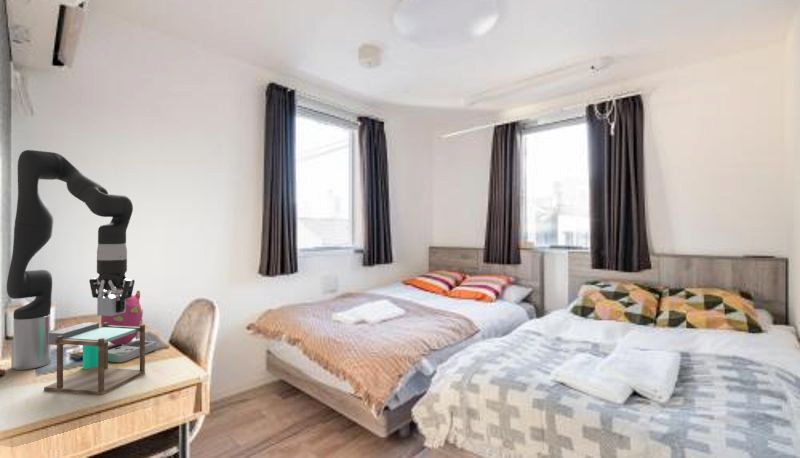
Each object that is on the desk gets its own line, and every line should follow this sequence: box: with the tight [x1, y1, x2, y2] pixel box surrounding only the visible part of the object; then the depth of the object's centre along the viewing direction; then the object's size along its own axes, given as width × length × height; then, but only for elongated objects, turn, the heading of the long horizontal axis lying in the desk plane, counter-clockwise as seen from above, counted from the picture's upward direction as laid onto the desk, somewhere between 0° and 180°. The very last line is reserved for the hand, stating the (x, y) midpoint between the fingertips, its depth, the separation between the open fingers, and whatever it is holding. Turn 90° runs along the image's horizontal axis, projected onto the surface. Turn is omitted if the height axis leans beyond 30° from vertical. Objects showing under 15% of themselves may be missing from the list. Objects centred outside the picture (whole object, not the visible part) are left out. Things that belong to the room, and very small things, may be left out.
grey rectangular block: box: [96, 294, 126, 316], centre depth 117 cm, size 5×5×6 cm
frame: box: [43, 322, 146, 396], centre depth 118 cm, size 19×16×16 cm
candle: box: [82, 345, 98, 370], centre depth 131 cm, size 6×6×12 cm
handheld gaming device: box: [108, 339, 157, 363], centre depth 141 cm, size 9×15×4 cm, turn 167°
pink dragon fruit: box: [100, 289, 144, 346], centre depth 152 cm, size 18×14×30 cm
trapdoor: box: [49, 321, 136, 346], centre depth 118 cm, size 19×12×4 cm, turn 83°
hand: (111, 311), depth 117 cm, fingers closed on grey rectangular block, 5 cm apart
